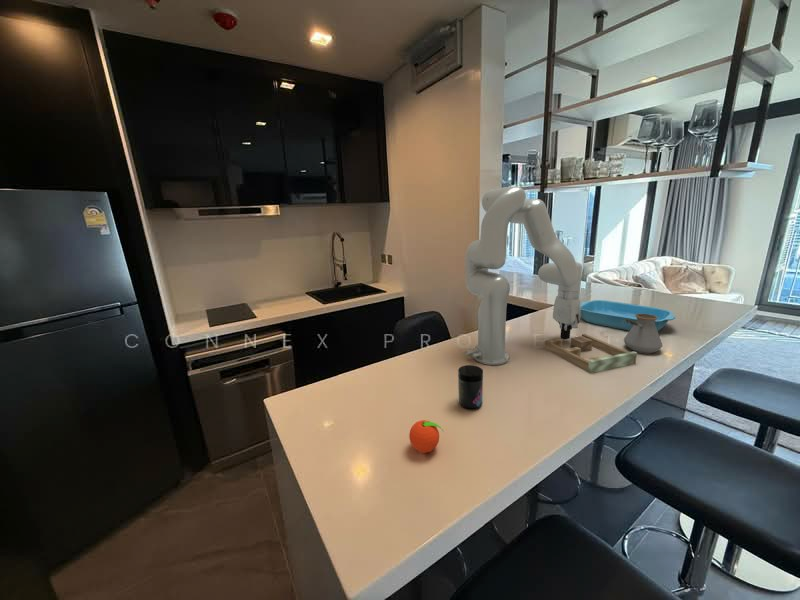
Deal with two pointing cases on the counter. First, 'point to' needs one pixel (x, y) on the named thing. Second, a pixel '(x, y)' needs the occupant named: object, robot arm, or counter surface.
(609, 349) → the trap box
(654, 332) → the coffee pot
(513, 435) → the counter surface
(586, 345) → the walnut block
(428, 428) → the clementine
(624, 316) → the casserole dish
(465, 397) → the supplement container
